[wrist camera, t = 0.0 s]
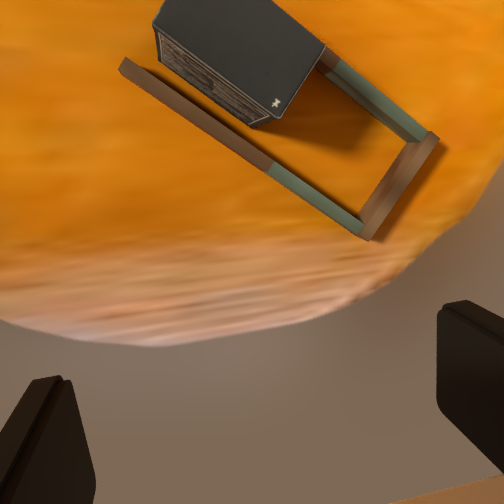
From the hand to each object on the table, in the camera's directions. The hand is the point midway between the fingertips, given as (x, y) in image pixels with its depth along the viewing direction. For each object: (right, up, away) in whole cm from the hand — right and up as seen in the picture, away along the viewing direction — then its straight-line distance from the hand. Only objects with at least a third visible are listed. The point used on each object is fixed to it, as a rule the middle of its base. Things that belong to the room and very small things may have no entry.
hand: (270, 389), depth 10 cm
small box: (-3, +20, +27) cm, 34 cm away
